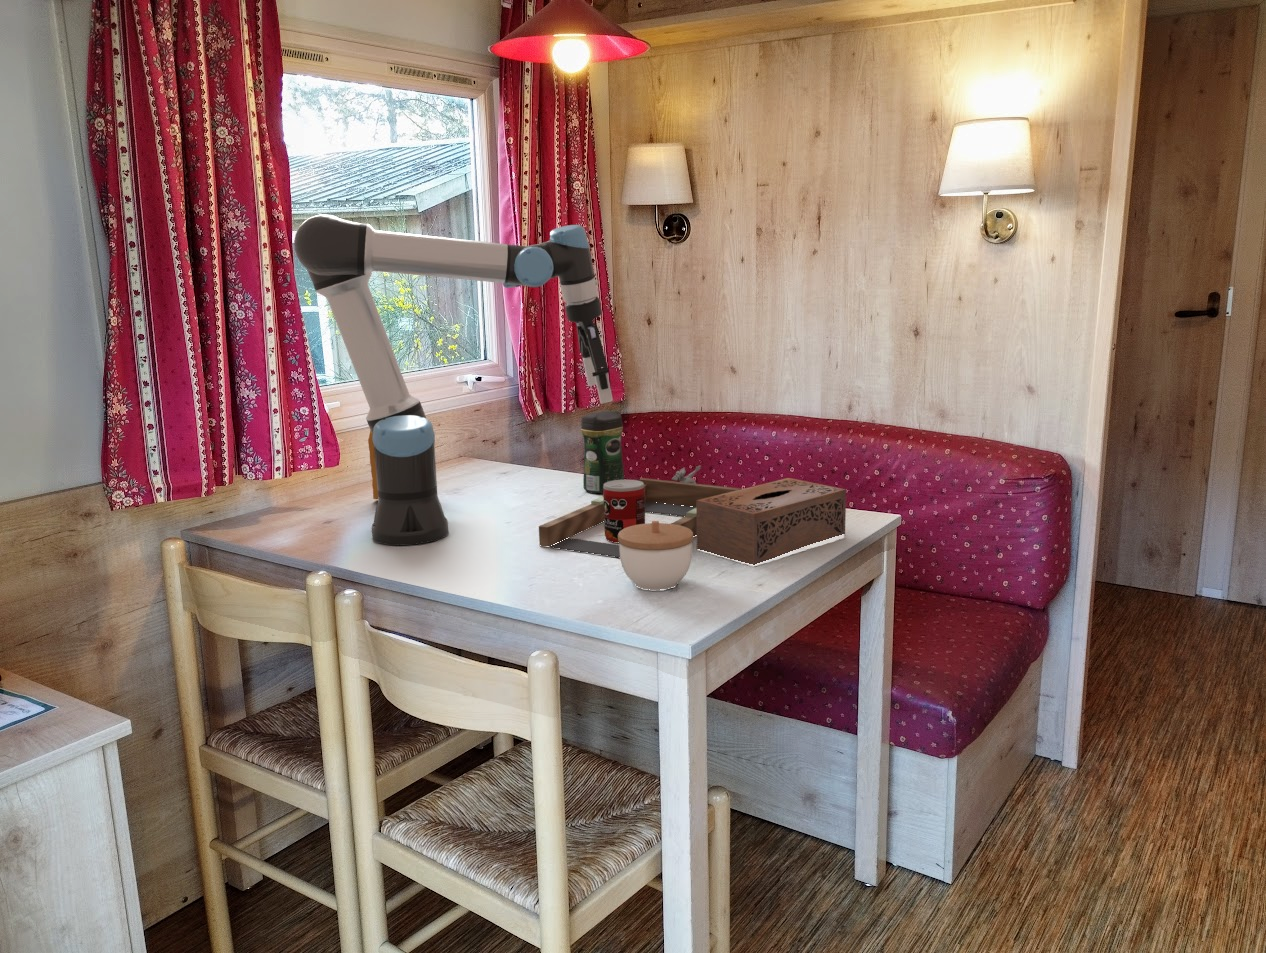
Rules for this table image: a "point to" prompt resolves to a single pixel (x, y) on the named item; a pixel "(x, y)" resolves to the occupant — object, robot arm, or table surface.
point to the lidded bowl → (655, 554)
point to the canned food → (622, 506)
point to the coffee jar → (602, 449)
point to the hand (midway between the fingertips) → (600, 393)
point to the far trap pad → (667, 508)
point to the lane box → (653, 493)
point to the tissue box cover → (769, 519)
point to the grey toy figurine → (683, 478)
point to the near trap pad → (589, 547)
